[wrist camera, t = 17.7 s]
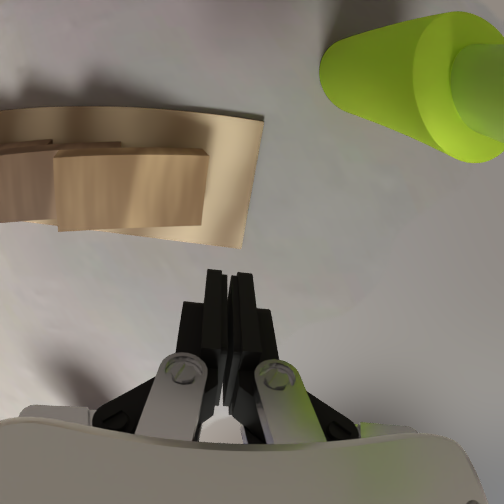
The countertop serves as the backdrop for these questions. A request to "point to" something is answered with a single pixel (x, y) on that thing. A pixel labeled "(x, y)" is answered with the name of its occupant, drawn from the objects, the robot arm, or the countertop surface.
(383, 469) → the robot arm
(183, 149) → the domino
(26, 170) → the domino
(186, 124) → the runner
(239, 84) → the countertop surface
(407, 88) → the soap dispenser
